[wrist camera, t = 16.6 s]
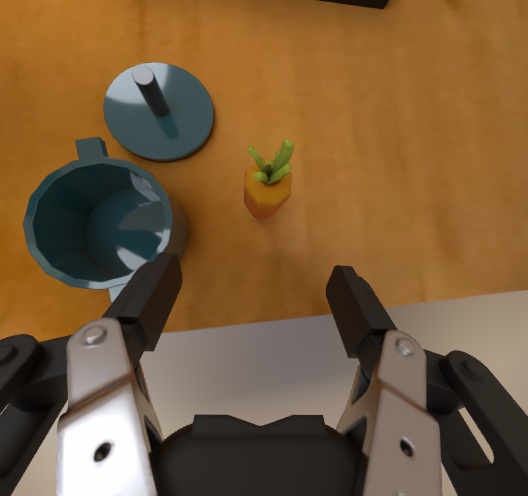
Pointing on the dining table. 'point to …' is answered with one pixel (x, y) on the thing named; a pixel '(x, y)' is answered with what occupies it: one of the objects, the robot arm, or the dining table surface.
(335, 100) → the dining table surface
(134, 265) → the saucepan
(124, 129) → the pan lid
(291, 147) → the carrot
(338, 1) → the food platter
